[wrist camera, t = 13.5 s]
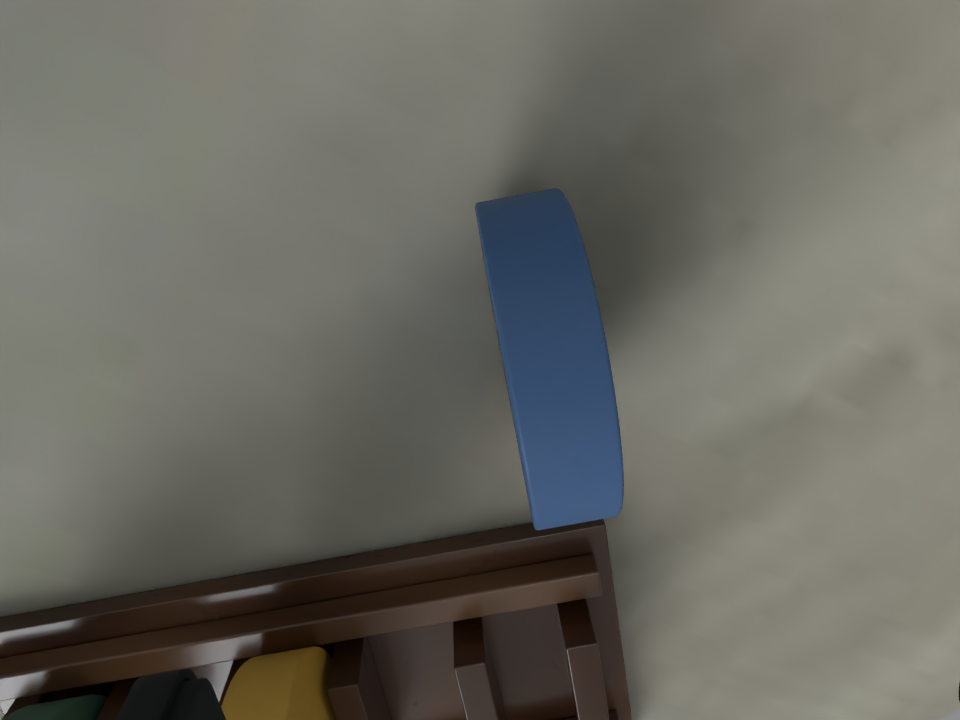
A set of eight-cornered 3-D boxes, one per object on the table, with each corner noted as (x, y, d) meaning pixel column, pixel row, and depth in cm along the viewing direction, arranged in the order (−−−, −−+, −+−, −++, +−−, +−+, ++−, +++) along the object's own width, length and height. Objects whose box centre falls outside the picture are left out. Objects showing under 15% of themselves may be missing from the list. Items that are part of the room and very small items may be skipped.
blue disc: (513, 425, 24) (548, 605, 17) (468, 173, 21) (486, 260, 13) (576, 414, 24) (638, 589, 17) (540, 159, 20) (599, 239, 13)
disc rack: (84, 820, 29) (44, 906, 26) (-27, 621, 26) (-88, 697, 23) (630, 727, 29) (651, 805, 26) (600, 510, 25) (621, 571, 22)
